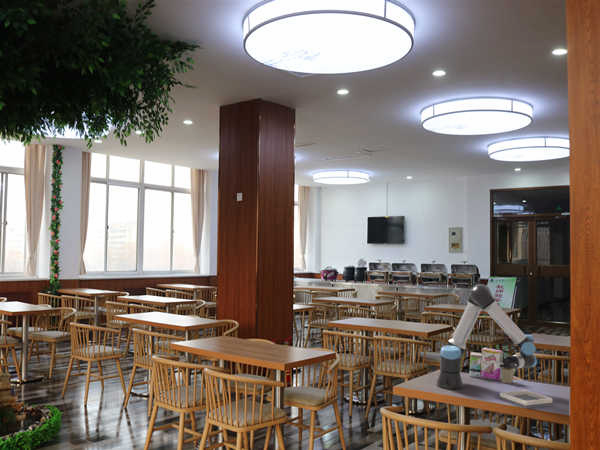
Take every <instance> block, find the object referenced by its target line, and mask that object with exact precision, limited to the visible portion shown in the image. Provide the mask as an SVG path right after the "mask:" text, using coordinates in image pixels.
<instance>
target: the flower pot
mask: <svg viewBox="0 0 600 450" xmlns="http://www.w3.org/2000/svg"><path fill="white" fill-rule="evenodd" d="M515 372H516V368H514V369H508V368H502V379H501V382H502V383H504V384H510V385H512V384H513V381H514V375H515Z"/></svg>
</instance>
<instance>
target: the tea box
mask: <svg viewBox="0 0 600 450" xmlns="http://www.w3.org/2000/svg"><path fill="white" fill-rule="evenodd" d="M481 353H482V352H473V351H470V358H469V360H470V361H469V377H473V378H481V379H485V378H484V377H480V373H481V364H479V363H478V360H479V359H481ZM486 379H488V380H491V379H490V378H486Z"/></svg>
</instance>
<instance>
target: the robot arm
mask: <svg viewBox="0 0 600 450" xmlns="http://www.w3.org/2000/svg"><path fill="white" fill-rule="evenodd" d="M466 303H467V305H466V307H465V309H464V311H463V314H462V316H461V318H460V320H459V323H458V324H457V327H456V329H455V330H454V333H453V335H452V337H451V338H450V339H448V340H447V343H446V344H445V345H443V346H442V347H440V363H439V365H440V366H439V375H438V378H437V380H436V386H437V387H439V388H441V389H447V390H461V389H463V386H464V385H463V381H462V376H461V361H462V358H463V356H464V354H465V351H466V350H467V346H466V343H467V341H468V339H469V337H470V335H471V332H472V331H473V328H474V326H475V324H476V322H477V320H478V317H479V316H480V313H481V311H482V312H483V311H484V312H486V314H488V315H489V316H490V318H491V319H493V321H494V322H495V323H496V324H497V325H498V326H499V327H500V328H501V329H502V330H503V332H504V333H505V334H506V335H507V336H508V337H509V339H511V340H512V341H513V343H514V344H515V345H516V346H517V347H518V348H519V354H514V355H513V354H512V355H507V356H506V357H503V362H502V363H494V368H508V369H516V370H519V369H524V368H525V369H527V368H533V367H535V366H537V364H538V360H537V357H536V356H535V352H536V345H535V344H534V342H535V338H534V336H533V335H532V334H525V333H524V332H523V331H522V330H521V329H520V327H518V326H517V325H516V323H515V322H514V321H513V320H512V319H511V318H510V316H508V315H507V313H506V312H505V311H504V310H503V309H502V308H501V307H500V306H499V304H498V303H497V300H496V299H495V298H494V297H493V295H492V292H491V289H490V288H489V287H488V286H487V285H485V284H482V283H478V284H476V285H474V286H472V288H471V289H470V293H469V295H468V297H467V299H466ZM478 363H479V364H481V359H479V360H478Z"/></svg>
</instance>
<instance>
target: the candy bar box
mask: <svg viewBox="0 0 600 450" xmlns="http://www.w3.org/2000/svg"><path fill="white" fill-rule="evenodd" d="M480 353H481V373H480V377H484V378H483V379H487V378H490V379H489V380H495V381H496V380H497V381H502V368H494V363H502V362H503V358H504V351H503V350H498V349H493V348H488V347H483V348H481V352H480ZM480 377H479V378H480Z"/></svg>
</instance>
